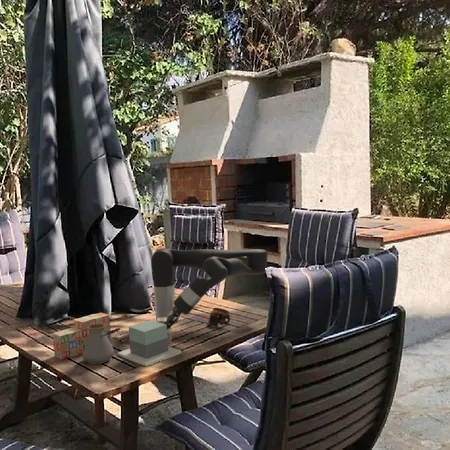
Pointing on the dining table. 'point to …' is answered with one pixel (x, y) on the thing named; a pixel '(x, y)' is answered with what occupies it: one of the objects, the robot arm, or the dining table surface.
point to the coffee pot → (98, 345)
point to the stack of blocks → (78, 335)
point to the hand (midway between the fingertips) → (159, 331)
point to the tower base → (148, 343)
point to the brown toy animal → (215, 319)
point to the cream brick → (163, 320)
